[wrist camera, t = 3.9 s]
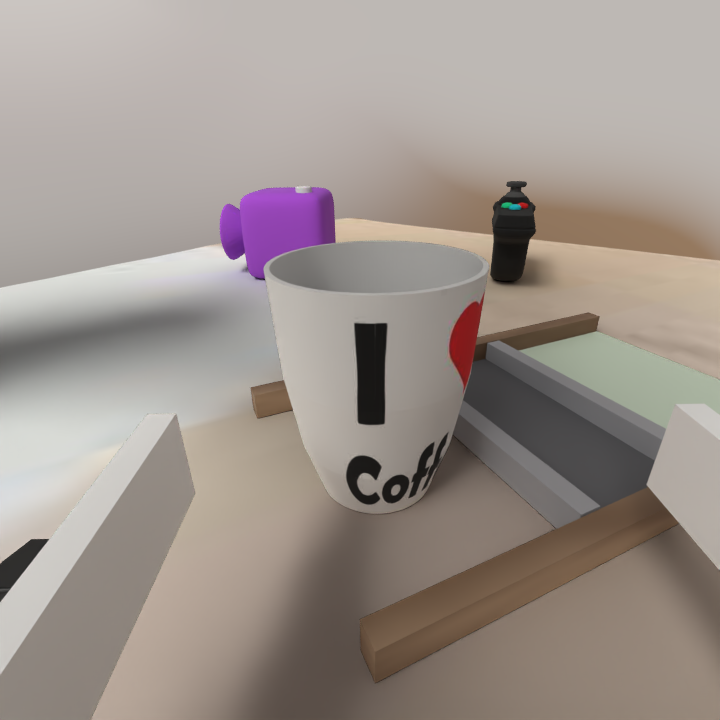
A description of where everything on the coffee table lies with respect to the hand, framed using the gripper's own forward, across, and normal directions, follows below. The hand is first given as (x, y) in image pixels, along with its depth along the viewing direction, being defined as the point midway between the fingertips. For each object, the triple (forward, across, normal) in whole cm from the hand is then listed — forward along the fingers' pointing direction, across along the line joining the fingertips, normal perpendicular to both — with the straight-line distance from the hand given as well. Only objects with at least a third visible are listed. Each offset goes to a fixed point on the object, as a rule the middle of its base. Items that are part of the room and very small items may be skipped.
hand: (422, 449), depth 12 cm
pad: (+14, +15, -6) cm, 22 cm away
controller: (+38, +15, -7) cm, 41 cm away
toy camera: (+44, -11, -7) cm, 46 cm away
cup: (+7, -1, -7) cm, 9 cm away
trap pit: (+10, +7, -6) cm, 14 cm away
